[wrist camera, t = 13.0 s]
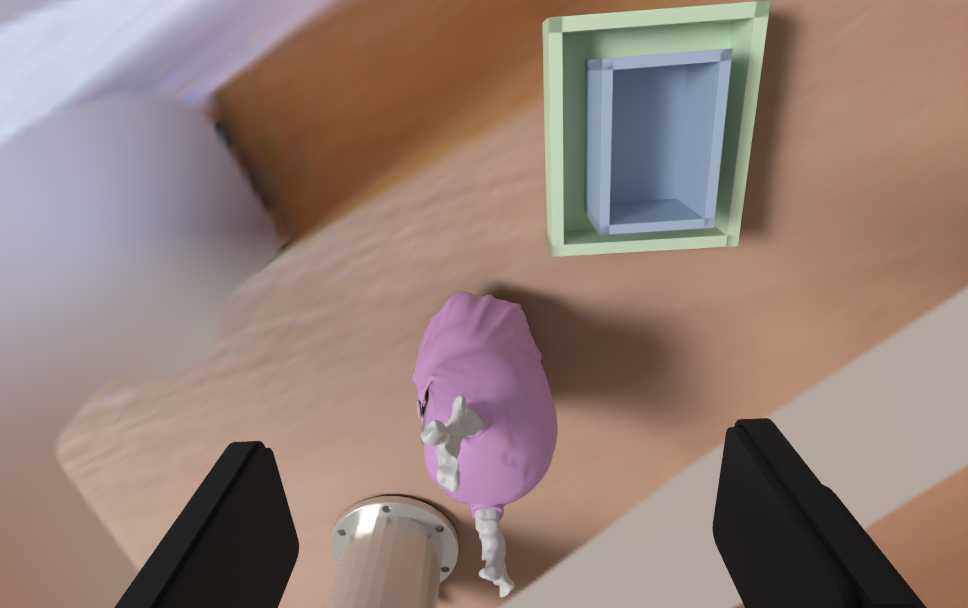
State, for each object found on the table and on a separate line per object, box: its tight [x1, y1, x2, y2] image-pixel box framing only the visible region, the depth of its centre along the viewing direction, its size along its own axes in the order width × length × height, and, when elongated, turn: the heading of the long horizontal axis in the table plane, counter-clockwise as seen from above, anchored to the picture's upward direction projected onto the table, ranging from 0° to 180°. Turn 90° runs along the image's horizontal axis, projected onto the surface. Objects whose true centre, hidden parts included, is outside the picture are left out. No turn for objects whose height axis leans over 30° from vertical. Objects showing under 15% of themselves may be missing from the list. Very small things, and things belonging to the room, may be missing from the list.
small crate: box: [584, 48, 733, 235], centre depth 34 cm, size 10×7×6 cm
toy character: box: [413, 292, 557, 597], centre depth 35 cm, size 12×10×20 cm
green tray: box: [543, 1, 770, 257], centre depth 35 cm, size 15×13×4 cm
